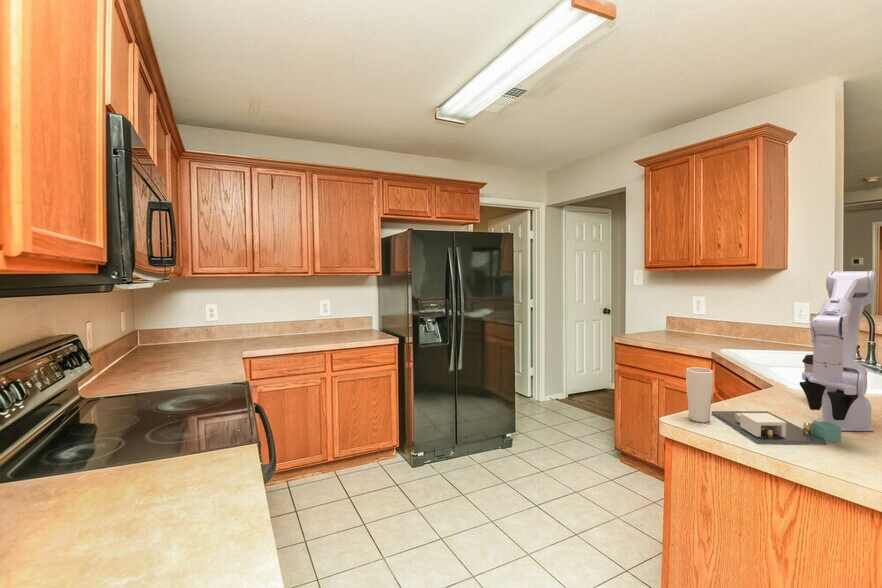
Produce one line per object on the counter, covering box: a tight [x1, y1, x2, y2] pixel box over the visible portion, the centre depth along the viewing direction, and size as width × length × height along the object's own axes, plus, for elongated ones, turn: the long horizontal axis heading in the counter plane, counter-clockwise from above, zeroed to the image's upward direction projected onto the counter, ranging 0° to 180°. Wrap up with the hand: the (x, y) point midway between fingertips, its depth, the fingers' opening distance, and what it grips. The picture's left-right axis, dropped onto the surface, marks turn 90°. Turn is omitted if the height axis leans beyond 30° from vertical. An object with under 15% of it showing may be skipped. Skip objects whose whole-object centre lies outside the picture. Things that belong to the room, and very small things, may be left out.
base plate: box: [711, 410, 827, 445], centre depth 118 cm, size 16×22×4 cm
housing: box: [735, 413, 786, 437], centre depth 115 cm, size 7×12×4 cm, turn 174°
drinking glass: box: [685, 366, 714, 424], centre depth 125 cm, size 7×7×15 cm
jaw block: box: [811, 421, 842, 443], centre depth 109 cm, size 4×4×4 cm
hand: (826, 414), depth 109 cm, fingers open, 7 cm apart
